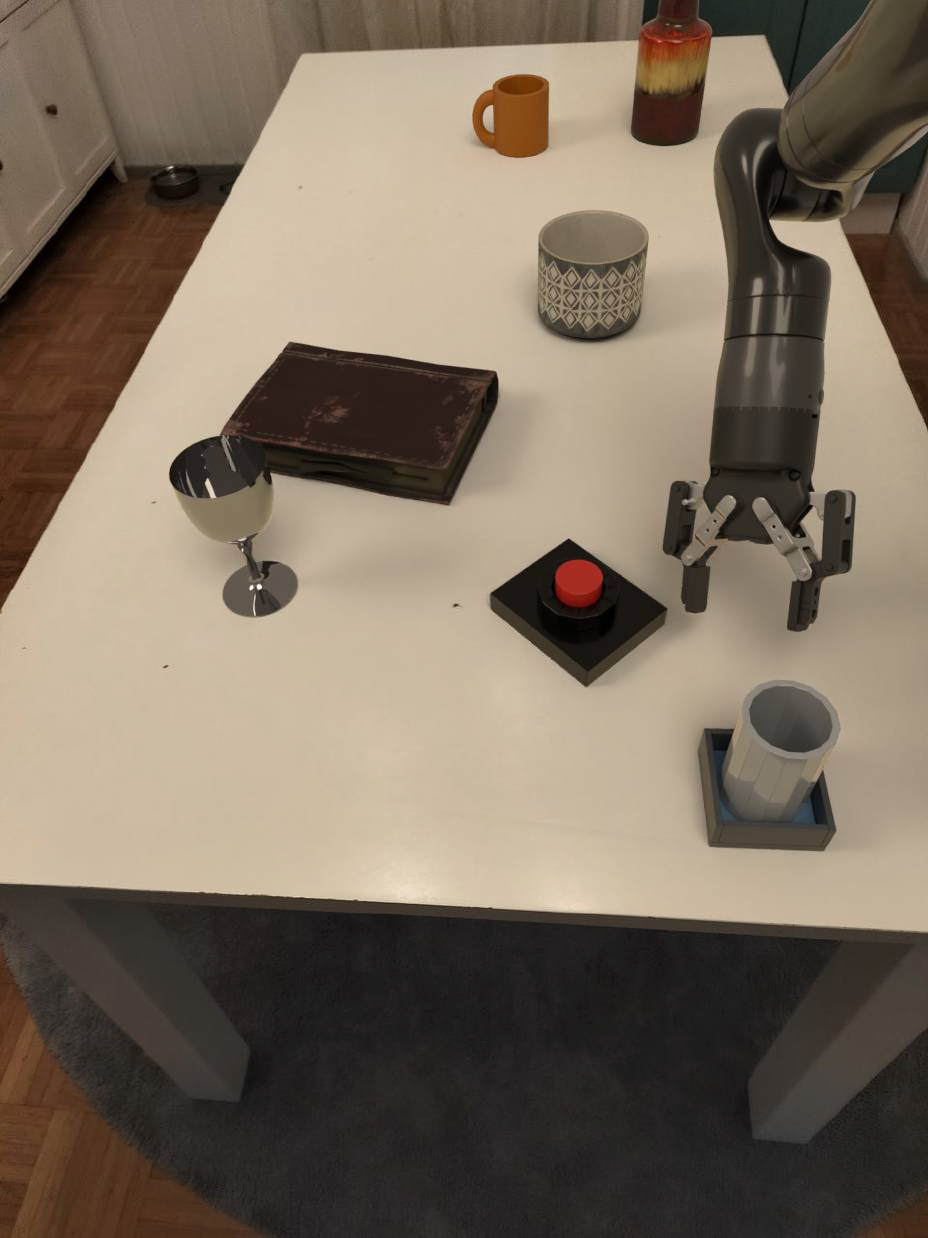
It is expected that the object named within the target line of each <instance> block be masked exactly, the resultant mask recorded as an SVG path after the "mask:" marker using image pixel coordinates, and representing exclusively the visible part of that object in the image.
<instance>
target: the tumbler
mask: <svg viewBox="0 0 928 1238" xmlns="http://www.w3.org/2000/svg"><path fill="white" fill-rule="evenodd" d="M733 729H734V732H733V735H732V738H731V741H730V744H729V747H728V750H727V753H726V756H725V759H724V762H723V765H722V768H721V771H720V774H719V778H718V789H719V797H720V799H721V802H722V804H723V805H724V807H725V808H726V809H727V811H728V812H729V813H730V814H731V815H732V816H733V817H734V818H736V819H737V820H739V821H745V822H773V823H791V822H793V821H794V820H795V819H796V818H797V817H798V815H799V814H800V812H801V811H802V809H803V807H804V805H805V803H806V802H807V800H808V798H809V796H810V794H811V792H812V790H813V788H814V786H815V784H816V782H817V780H818V778H819V776H820V774H821V772H822V770H823V771H824V768H825V766H826V764H827V762H828V760H829V758H830V756H831V755H832V752H833V750H834V749H835V746H836V744H837V742H838V738H839V736H840V733H841V723H840V718H839V715H838V712H837V710H836V709H835V707H834V705H832V703H831V701H830V700H829V699H828V698H827V696H825V695H823V694H822V693H821V692H819V691H818V690H817V689H815V688H814V687H812V686H810V685H807V684H805V683H801V682H799V681H796V680H788V679H786V680H785V679H773V680H769V681H766V682H763V683H760V684H757V685H756V686H755V687H754V688H753V689H751V691H749V692H748V693H747V694H746V695H745V698H744V700H743V703H742V705H741V708H740V711H739V715H738V717H737V721H736V724H735V726H734V728H733Z"/></svg>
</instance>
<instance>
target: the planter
mask: <svg viewBox="0 0 928 1238" xmlns="http://www.w3.org/2000/svg"><path fill="white" fill-rule="evenodd" d="M649 235H650V234H649V231H648V229H647V228H646V227H645V225H643V223H642V222H640V220H637V219H636V218H634V217H631V216H629V215H627V214H624V213H620V212H617V211H611V210H601V209H587V210H578V211H572V212H568V213H565V214H562V215H559V216H557V217H555V218H553V219H551V220H550V221H548V222H547V223H545V224H544V225H543V227H542V228H541V229H540V231H539V233H538V238H537V239H538V240H537V241H538V242H537V243H538V245H537V246H538V249H537V250H538V252H537V314H538V316H539V318H540V321H542V323H544V325H545V326H547V328H549V329H551V330H553V331H554V332H557V333H559V334H562V335H565V336H568V337H574V338H579V339H581V338H583V339H597V338H598V339H599V338H605V337H610V336H613V335H617V334H619V333H622V332H624V331H626V330H628V329H629V328H630V327H632V326H633V325H634V324H635V323H636V322H637V321H638V319H639V317H640V315H641V311H642V303H643V302H642V301H643V295H644V286H645V275H646V267H647V260H648V259H647V257H648V250H649V240H650V236H649Z"/></svg>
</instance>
